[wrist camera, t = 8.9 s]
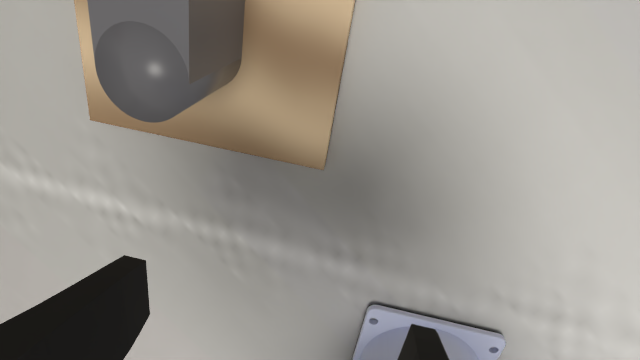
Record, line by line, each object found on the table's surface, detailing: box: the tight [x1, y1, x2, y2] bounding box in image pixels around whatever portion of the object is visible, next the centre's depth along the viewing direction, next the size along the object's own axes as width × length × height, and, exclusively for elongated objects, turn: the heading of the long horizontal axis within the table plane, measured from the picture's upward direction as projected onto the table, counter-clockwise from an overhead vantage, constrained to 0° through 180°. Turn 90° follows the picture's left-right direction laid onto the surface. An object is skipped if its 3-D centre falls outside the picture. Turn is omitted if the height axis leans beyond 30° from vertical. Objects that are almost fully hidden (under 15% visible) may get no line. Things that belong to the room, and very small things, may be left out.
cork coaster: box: [74, 0, 355, 170], centre depth 16 cm, size 12×12×1 cm
